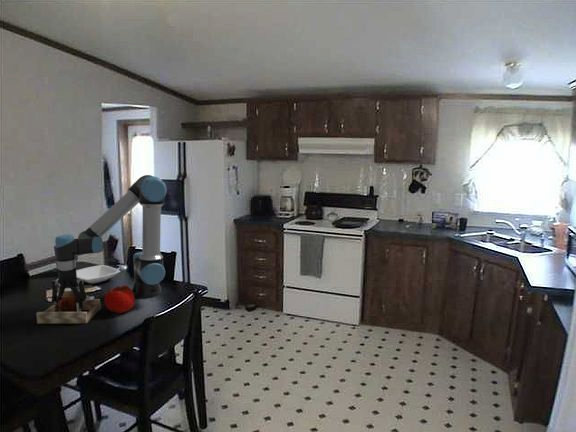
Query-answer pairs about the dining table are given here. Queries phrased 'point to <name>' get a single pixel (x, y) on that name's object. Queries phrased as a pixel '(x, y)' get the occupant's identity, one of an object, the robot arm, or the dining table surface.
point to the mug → (68, 302)
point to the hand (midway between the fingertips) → (70, 315)
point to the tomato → (119, 299)
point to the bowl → (96, 273)
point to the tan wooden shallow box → (69, 313)
